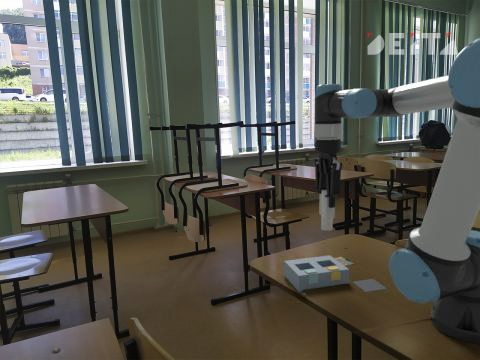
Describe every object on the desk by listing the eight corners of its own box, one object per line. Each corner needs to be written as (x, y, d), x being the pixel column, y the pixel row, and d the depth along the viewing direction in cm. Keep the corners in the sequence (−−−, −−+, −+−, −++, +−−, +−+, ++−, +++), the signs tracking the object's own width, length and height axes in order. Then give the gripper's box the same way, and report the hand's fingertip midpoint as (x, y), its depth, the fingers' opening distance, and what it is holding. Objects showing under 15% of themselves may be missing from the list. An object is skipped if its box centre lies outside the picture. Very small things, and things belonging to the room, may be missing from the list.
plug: (334, 230, 114) (335, 191, 112) (324, 231, 113) (324, 192, 111) (329, 227, 118) (330, 189, 115) (319, 228, 117) (319, 189, 115)
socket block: (349, 285, 113) (349, 268, 112) (299, 292, 109) (299, 275, 108) (329, 269, 125) (330, 254, 124) (284, 275, 121) (284, 260, 120)
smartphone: (304, 265, 130) (304, 262, 130) (341, 259, 135) (341, 255, 135) (315, 274, 123) (316, 270, 122) (355, 267, 127) (355, 263, 127)
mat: (386, 290, 109) (387, 288, 109) (365, 293, 107) (365, 291, 107) (372, 280, 116) (372, 278, 116) (352, 283, 114) (352, 281, 114)
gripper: (354, 139, 104) (352, 222, 108) (326, 136, 120) (325, 208, 124) (329, 140, 102) (328, 224, 106) (304, 137, 118) (304, 210, 122)
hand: (326, 215), depth 115 cm, fingers closed on plug, 3 cm apart
